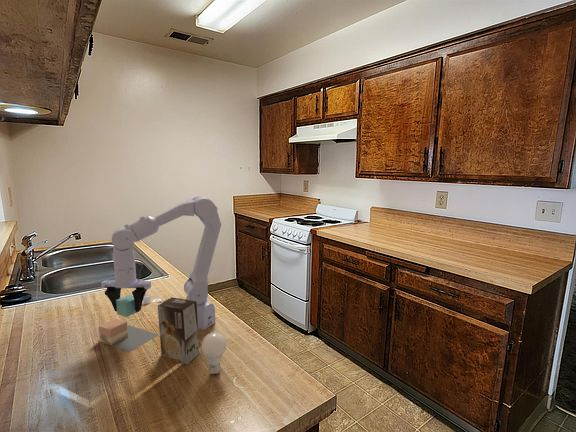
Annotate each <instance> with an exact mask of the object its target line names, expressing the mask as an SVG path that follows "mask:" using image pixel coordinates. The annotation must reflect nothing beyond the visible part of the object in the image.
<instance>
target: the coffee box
mask: <svg viewBox="0 0 576 432" xmlns="http://www.w3.org/2000/svg"><path fill="white" fill-rule="evenodd" d="M161 302H162V303H161ZM161 302H160V303H158V304H157V316H158V318H157V319H158V329H159V339H160V340H159V341H160V352H161V354H160V356H163V357H166V358H170V359H173V360H178V361H179V362H178V363H179V364H184V365H188V364H189V363H190V362H192V361H193V360H194V359H195V358H196V357H197V356H199V354H200V353H201V352H200V341H199V340H200V338H199V329H198V319H197V301H191V300H186V298H177V297H173V296H172V297H170V298H168V299H165V300H164V301H161Z"/></svg>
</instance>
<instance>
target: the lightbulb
mask: <svg viewBox="0 0 576 432" xmlns="http://www.w3.org/2000/svg"><path fill="white" fill-rule="evenodd" d="M200 348H201V352H202V354H203V356H204V357H206V359H207V363H208V364H209V373H210V374H211V375H216V374H219V373H220V371H221V360H222V357H223V355H224V354H225V351H226V349H227V340H226V338H225V337H224V336H223V334H222V333H219V332H210V333H208V334H206V335H205V337H204V338H203V339H202V341H201V347H200Z"/></svg>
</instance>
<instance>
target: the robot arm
mask: <svg viewBox="0 0 576 432" xmlns="http://www.w3.org/2000/svg"><path fill="white" fill-rule="evenodd" d="M183 216H187V217H195V216H196V217H197V218H199V220H200V221H201V223H202V225H204V229H203V233H202V237H201V240H200V242H199V246H198V247H199V248H198V251H197V254H196V259H195V262H194V266H193V270H192V271H191V272H190V274H189V277H188V279H187V280H186V281H185V283H184V285H183V290H184V293H186V298H185V300H191V301H197V319H198V330H202V331H205V330H206V329H208V328H209V327H211V326H212V325H214V324H215V323H216V307H215V304H213V302H210V301H209V300H208V298H209V297H208V296H209V292H208V290H209V289H208V286H209V278H208V276H209V271H210V269H211V264H212V261H213V257H214V254H215V249H216V246H217V242H218V238H219V236H220V235H219V234H220V232H221V228H222V223H221V219H220V216H219V213H218V207H217V205H216V204H215V203H214V202H213V201H212V200H210V199H209V198H206V197H203V196H200V195H199V196H195V197H193V198H190V199H187V200H185V201H183V202H180V203H179V204H176V205H174V206H173V207H171V208H170V209H168V210H166V211H164V212H161V213H160V214H157V215H156V216H151V215H147V216H144V215H142V216H140V217H139V220H136V221H134V222H132V223H130V224H129V223H126V224H124V227H121V228H119V227H118V228H117V229H115V230H114V231H113V233H112V236H111V244H112V246H113V248H112V250H113V251H112V252H113V255H112V257H113V269H114V279H106V280H105V279H104V281H101V282H100V285H101V289H106V290H105V291H104V295H105V296H106V297H107V298H108V300H109V301H110V303H111V305H112V308H113V310H114V312H117V308H116V300H117V299H120V298H121V294H122V293H121V292H122V289H134V290H132V291H131V295H132V296H133V297H134V301H135V310H136V312H137V313H139V312H140V311H141V310H142V307H143V303H142V302H143V298H144V296H145V295H146V293H147V290H149V289H151V287H152V281H151V280H143V279H137V272H136V260H135V259H136V258H135V251H134V244H135V243H138V242H141V241H142V240H144V239H146V238H148V237H150V236H152V235H154V234H156V233H157V232H158V231H159V229H160V227H161V226H163V225H166V224H168V223H169V222H172V221H174V220H176V219H179V218H181V217H183Z"/></svg>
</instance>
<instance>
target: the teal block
mask: <svg viewBox="0 0 576 432" xmlns="http://www.w3.org/2000/svg"><path fill="white" fill-rule="evenodd" d="M116 308H117V311H116V315H118V316H121V317H124V318H128V317H130V316H132V315H134V314H137V313H138V312H136V310H135V301H134V297H133V295H132V294H129V295H126V296H124V297H123V296H122V297H120V299H117V300H116Z"/></svg>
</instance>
